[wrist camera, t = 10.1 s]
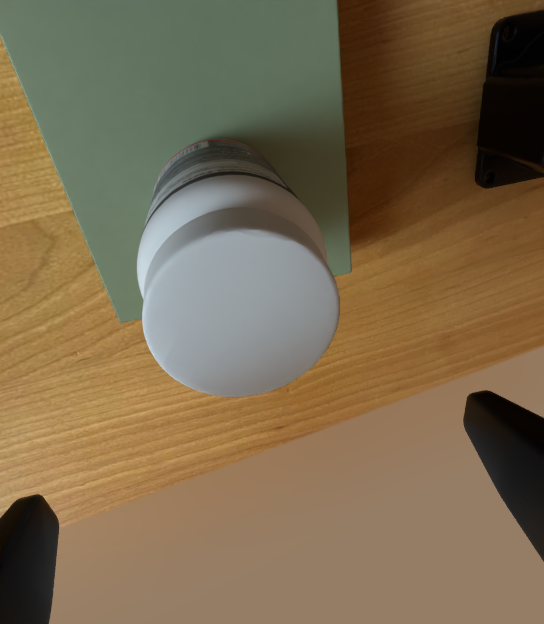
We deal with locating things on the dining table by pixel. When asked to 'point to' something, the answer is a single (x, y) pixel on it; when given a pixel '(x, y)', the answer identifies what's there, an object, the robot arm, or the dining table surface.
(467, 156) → the dining table surface
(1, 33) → the storage rack
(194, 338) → the pill bottle
